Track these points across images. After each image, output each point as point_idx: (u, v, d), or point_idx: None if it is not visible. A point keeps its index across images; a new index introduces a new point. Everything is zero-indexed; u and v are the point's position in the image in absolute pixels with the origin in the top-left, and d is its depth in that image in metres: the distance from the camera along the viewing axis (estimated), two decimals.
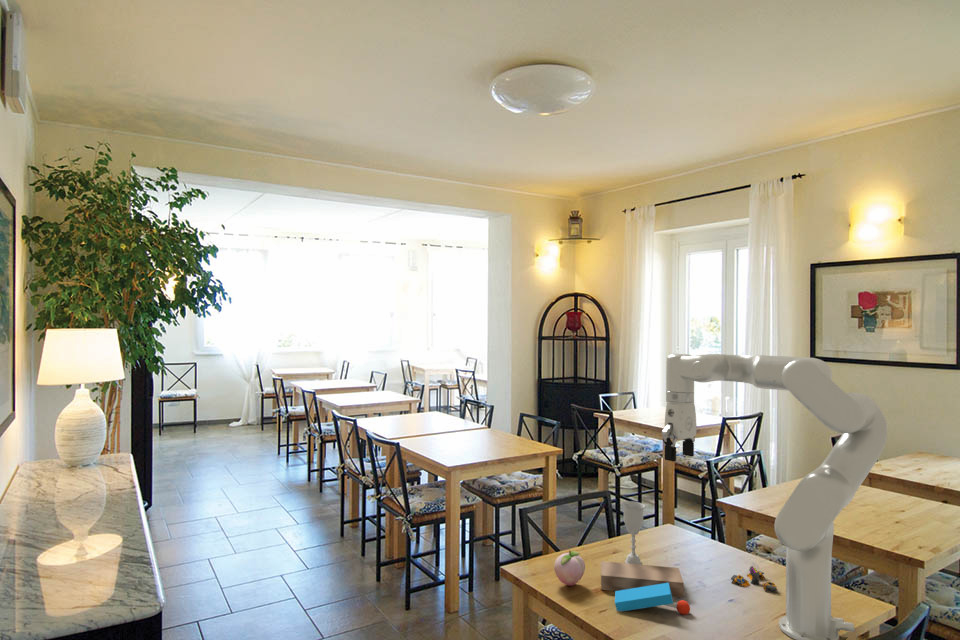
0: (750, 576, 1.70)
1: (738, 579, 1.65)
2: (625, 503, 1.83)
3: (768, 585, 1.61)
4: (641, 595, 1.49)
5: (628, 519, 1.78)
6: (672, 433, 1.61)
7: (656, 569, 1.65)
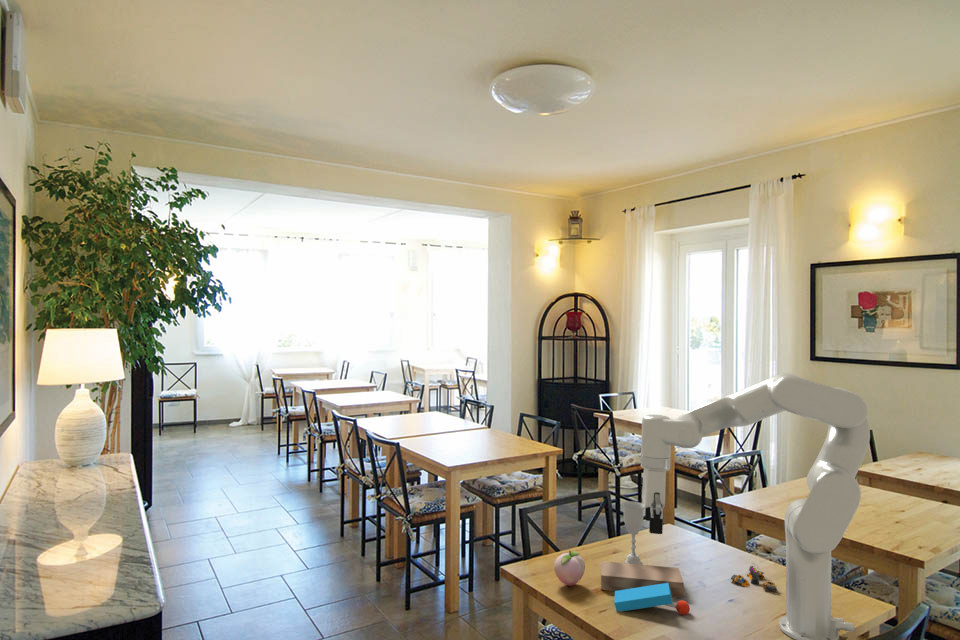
0: (750, 576, 1.70)
1: (738, 579, 1.65)
2: (625, 503, 1.83)
3: (768, 585, 1.61)
4: (641, 595, 1.49)
5: (628, 519, 1.78)
6: None
7: (656, 569, 1.65)
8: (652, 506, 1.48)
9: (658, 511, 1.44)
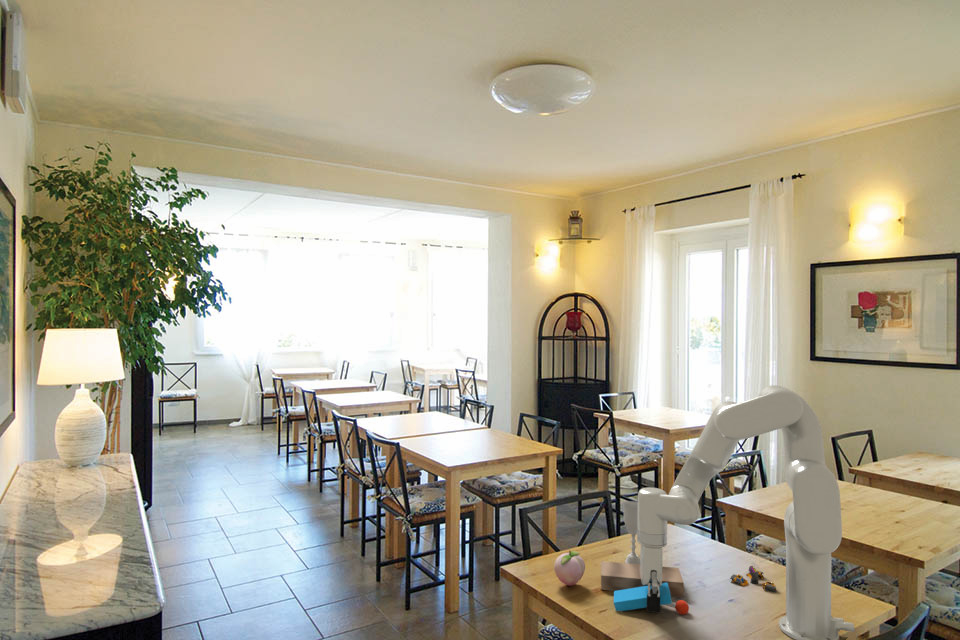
0: (749, 576, 1.70)
1: (737, 579, 1.65)
2: (625, 503, 1.83)
3: (767, 585, 1.61)
4: (640, 595, 1.50)
5: (628, 519, 1.78)
6: None
7: None
8: (649, 584, 1.46)
9: (655, 590, 1.43)
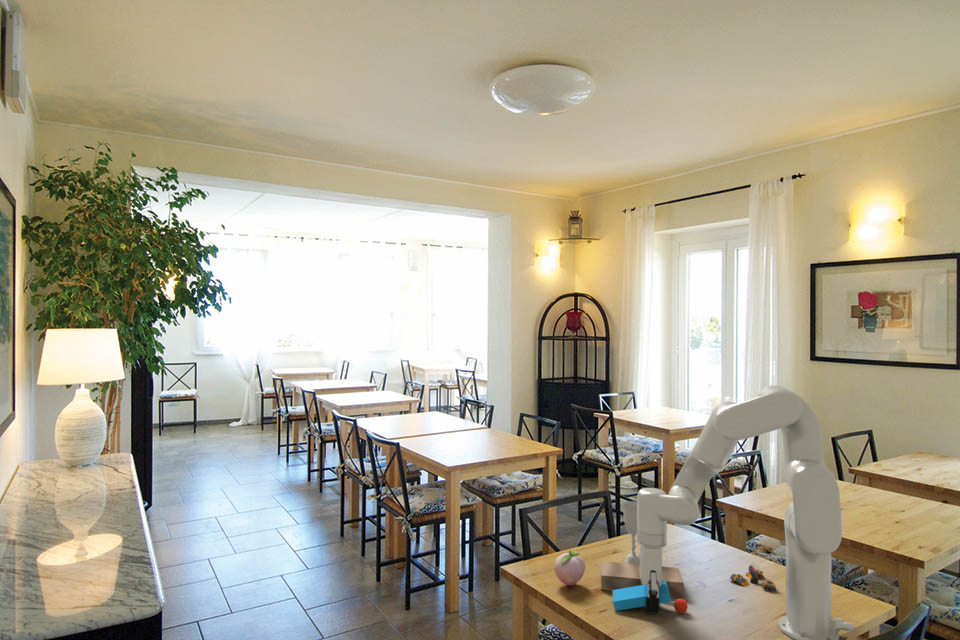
0: (749, 575, 1.70)
1: (737, 578, 1.65)
2: (625, 503, 1.83)
3: (767, 584, 1.61)
4: (639, 594, 1.50)
5: (628, 519, 1.78)
6: None
7: None
8: (648, 585, 1.47)
9: (654, 593, 1.43)
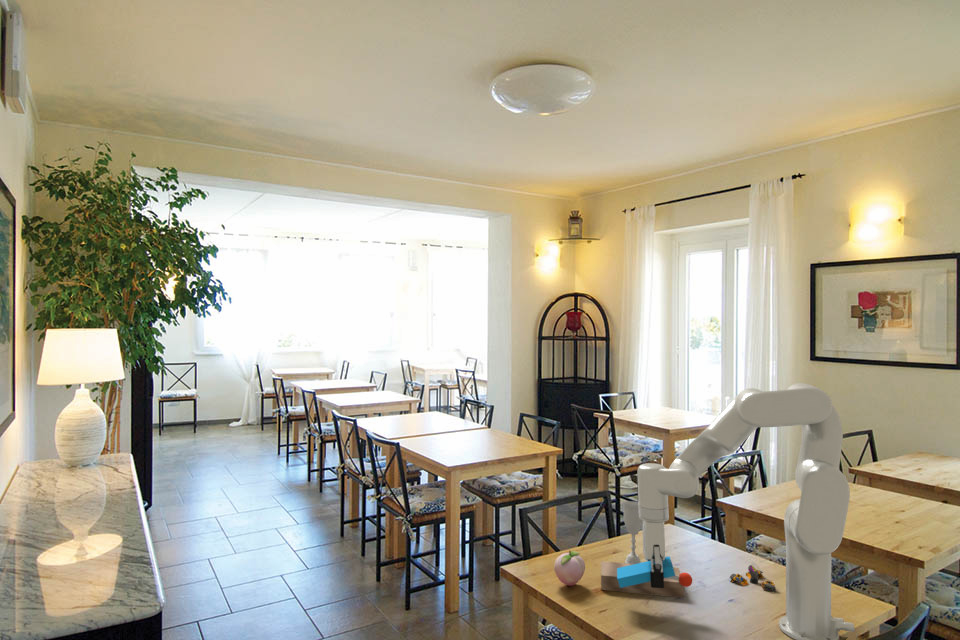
0: (749, 575, 1.70)
1: (737, 578, 1.66)
2: (625, 503, 1.84)
3: (767, 584, 1.62)
4: (643, 570, 1.49)
5: (628, 519, 1.78)
6: None
7: None
8: (652, 560, 1.46)
9: (658, 567, 1.43)
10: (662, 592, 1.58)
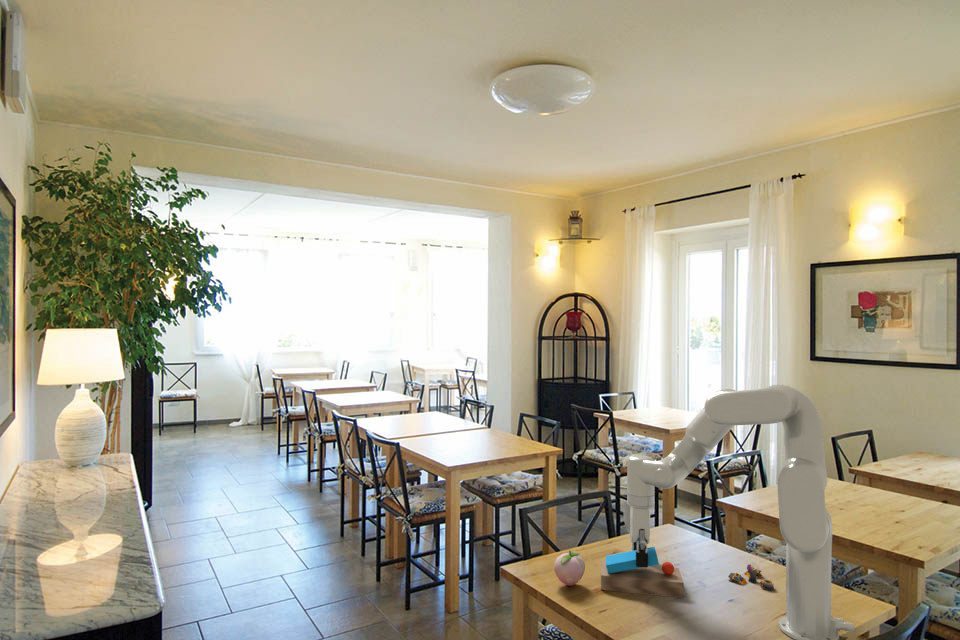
0: (747, 574, 1.71)
1: (735, 577, 1.66)
2: (625, 503, 1.84)
3: (765, 583, 1.62)
4: (630, 558, 1.63)
5: (628, 519, 1.78)
6: None
7: (656, 569, 1.65)
8: (638, 541, 1.60)
9: (643, 547, 1.56)
10: (662, 592, 1.58)
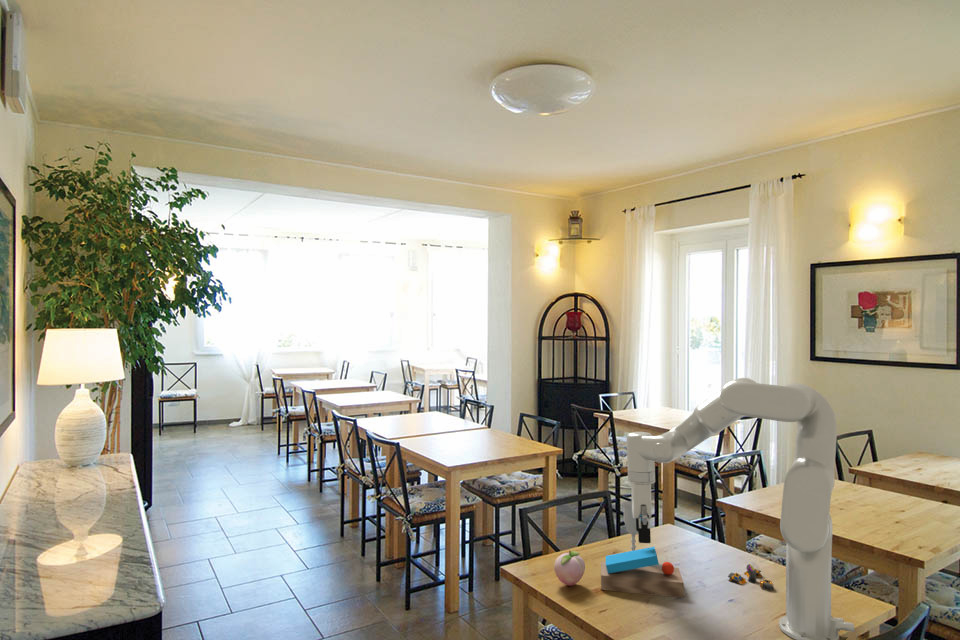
0: (747, 574, 1.71)
1: (735, 577, 1.66)
2: (625, 503, 1.83)
3: (765, 583, 1.62)
4: (629, 558, 1.63)
5: (628, 519, 1.78)
6: None
7: (656, 569, 1.65)
8: (640, 517, 1.60)
9: (645, 522, 1.56)
10: (662, 592, 1.58)
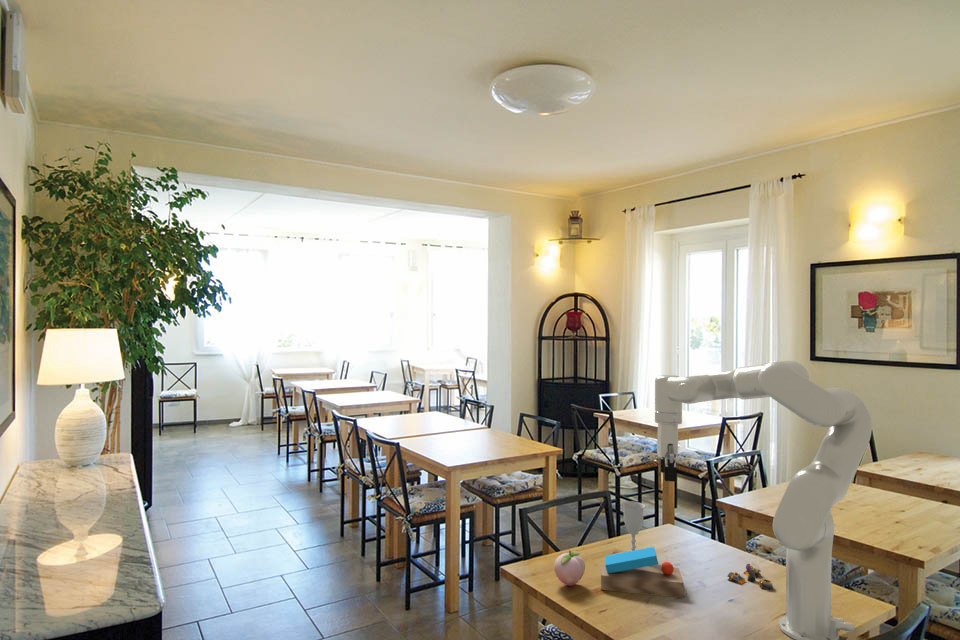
0: (747, 573, 1.71)
1: (734, 576, 1.67)
2: (625, 503, 1.84)
3: (764, 582, 1.63)
4: (629, 558, 1.63)
5: (628, 519, 1.78)
6: None
7: (656, 569, 1.65)
8: (666, 456, 1.63)
9: (672, 460, 1.59)
10: (662, 592, 1.58)
